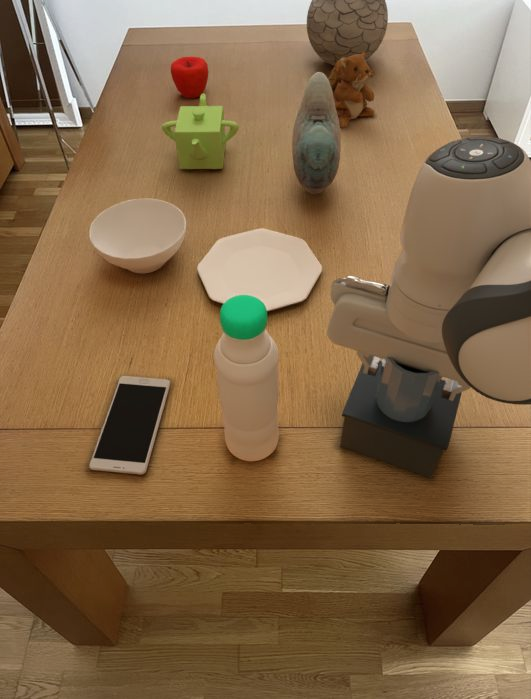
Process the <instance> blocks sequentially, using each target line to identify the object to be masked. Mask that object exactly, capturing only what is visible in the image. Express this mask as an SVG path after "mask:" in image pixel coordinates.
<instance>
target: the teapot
mask: <svg viewBox="0 0 531 699" xmlns="http://www.w3.org/2000/svg"><path fill="white" fill-rule="evenodd" d="M172 127H175V128H174V131H173V130H172ZM226 127H228V128H230V129H229V130H228V132H227V133H226ZM239 128H240V126H239V123H237V122H236V121H233V120H228V119H225V114H224V106H223V105H208V104H207V94H206V93H204V92H203V94H201V96H199V105H188V106H187V105H181V106H179V110H178V115H177V119H176V120H170V121H166V122H164V123H163V124H162V125H161V130H162V132H163V133H164V134H165V135H166V136H167V137H168V138H169V139H171V140H173V141H174V142H175V147H176V148H175V149H176V154H177V160H178V166H179V170H219V169H221V170H222V169H223V168H224V163H225V162H224V161H225V153H226V152H225V151H226V143H227V142H228V141H230V140H231V139H232V138H233V137H234V136H235V135H236V134H237V133H238V131H239Z"/></svg>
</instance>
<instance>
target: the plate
mask: <svg viewBox="0 0 531 699" xmlns="http://www.w3.org/2000/svg"><path fill="white" fill-rule="evenodd" d="M196 271H197V274H198V275H199V278H200V280H201V283H202V284H203V287H204V289H205V291H206V294H207V296H208V298H209V300H211V301H212V302H214V303H217V304H220V305H223V304H224V303H225V302H226V301H227V300H229V299H230V298H232V297H235V296H236V295H237V296H239V295H249V296H250V295H251V296H254V297H255V298H258V299H259V300H261V302H263V303H264V305H265V307H266V309H267V313H269V312H273V311H276V310H280V309H283V308H286V307H291V306H294V305H297V304H301V303H303V302H304V301H305V300H307V299H308V297H309V295H310V294H311V292H312V290H313V288H314V286H315V284H316V282H317V281H318V279H319V278H320V275H321V274H322V273H323V266H322V264H321V263H320V261H319V259H318V258H317V257H316V255H315V253H314V252H313V250H312V249H311V248H310V246H309V245H308V243H307V242H306V240H304V239H303V238H301V237H297V236H293V235H290V234H286V233H282V232H279V231H275V230H271V229H268V228H255V229H251V230H247V231H244V232H243V231H242V232H240V233H235V234H231V235H227V236H223V237H221V238H219V239H218V240H216V241H215V242H214V244H212V246H211V248H210V249H209V251H207V253H206V254H205V255H204V257H203V258H202V259H201V261H199V263H198V264H197V266H196Z"/></svg>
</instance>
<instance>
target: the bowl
mask: <svg viewBox="0 0 531 699" xmlns="http://www.w3.org/2000/svg"><path fill="white" fill-rule="evenodd" d="M186 232H187V220H186V217H185V214H184V213H183V211H182V210H181V209H180V208H179V207H178V206H176V205H175V204H173V203H171V202H168V201H165V200H162V199H159V198H134V199H128V200H124V201H121V202H118V203H115V204H113V205H111V206H109V207H107V208H105V209H104V210H102V211H101V212H100V213H99V214H98V215H97V216H96V217H95V218H94V220H93V221H92V222H91V224H90V227H89V231H88V235H89V242H90V243H91V246H92V247H93V249H94V250H95V252H96V253H97V254H98V255H99V256H100V257H101V258H103V259H104V260H105V261H107V262H108V263H110V264H112V265H113V266H117V267H118V268H121V269H124V270H128V271H129V272H131V273H135V274H149V273H153V272H155V271H158V270H159V269H161V268H162V267H163V266H164V265H165V264H166V263H167V262H168V261H169V260H170V259H171V258H172V257H173V256H174V255H175V254H176V253H177V252H178V251H179V249H180V248H181V246H182V244H183V243H184V241H185V237H186Z"/></svg>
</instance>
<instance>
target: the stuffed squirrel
mask: <svg viewBox="0 0 531 699" xmlns="http://www.w3.org/2000/svg"><path fill="white" fill-rule="evenodd" d="M365 57H366V53H364V52H363V53H362V54H356V55H352V56H349V57H348V58H345V57H343V58H341V59H340V60H339V61H337V63H336V65H335V66H333V67H332V68H333V69H331V71H330V76H329V78H328V80H329V82H330V85H331V88H332V92H333V98H334V102H335V108H336V111H337V115H338V119H339V124H340V129H343V128H347V127H348V125H349V124H350V121H351V120H354V119H357V118H358V117H373V116H374V115H375V110H374V108H371V107H368V102H369V103H371V102H373V101H374V100H375V92H374V91H373V89H371V88H370V86H369V85H367V83H365V81H367V80H368V79H369V78H370V75H371V78H373V77H374V76H376V75H375V72H373V70H371V69H370V66H369V65H368V63H367V60H365Z"/></svg>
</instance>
